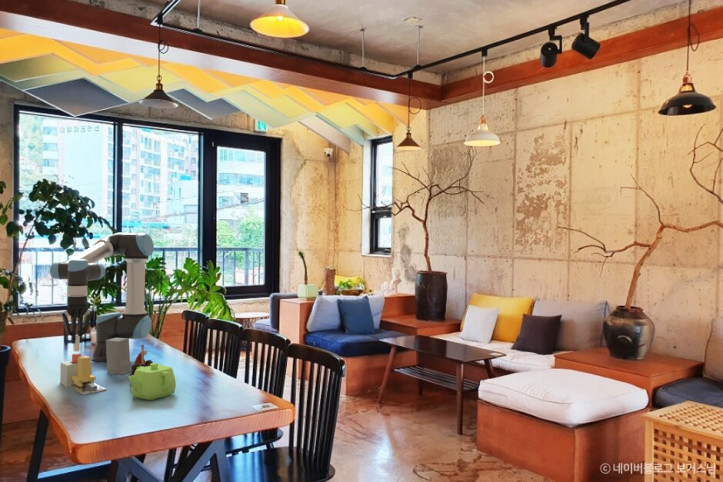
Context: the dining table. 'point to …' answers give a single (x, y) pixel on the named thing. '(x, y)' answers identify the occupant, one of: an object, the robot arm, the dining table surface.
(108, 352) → the skincare box
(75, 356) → the button
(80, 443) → the dining table surface
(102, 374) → the dining table surface
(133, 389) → the teapot
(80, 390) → the rail base
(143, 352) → the red brown figurine
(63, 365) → the cabinet
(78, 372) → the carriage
